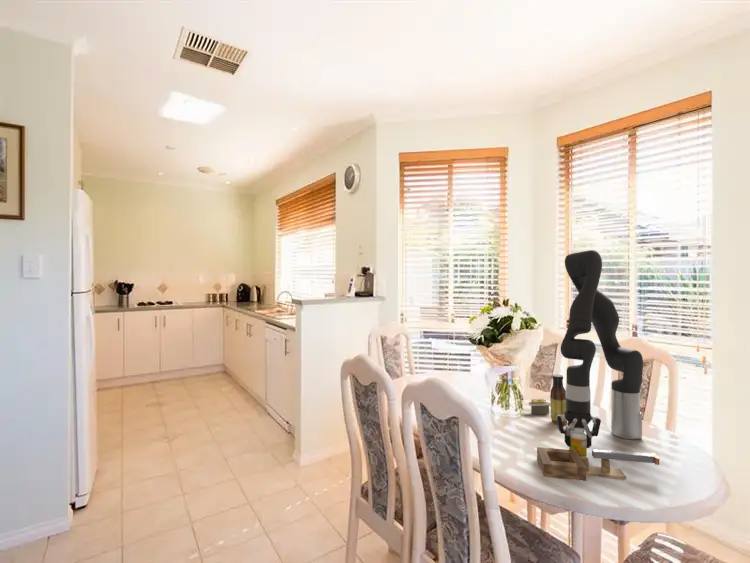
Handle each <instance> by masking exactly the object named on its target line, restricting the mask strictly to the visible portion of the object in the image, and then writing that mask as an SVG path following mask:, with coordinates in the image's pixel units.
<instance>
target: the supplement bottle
mask: <svg viewBox="0 0 750 563" xmlns="http://www.w3.org/2000/svg"><path fill="white" fill-rule="evenodd" d="M587 449H588V448H587V436H586V432H585V430H584V428H580V427H577V428H575V427H574V428H573V430H572V431H571V433H570V447H569V446H568V450H576V451H577V453H578V455H579V456H583V457H588V455H587V453H588V450H587Z"/></svg>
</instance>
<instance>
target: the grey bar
mask: <svg viewBox="0 0 750 563" xmlns="http://www.w3.org/2000/svg"><path fill="white" fill-rule="evenodd" d="M591 456H592V457H593V459H609V460H610V461H611V460H612V461H622V462H634V463H646V464H647V463H648V464H654V465H656V466H660V457H659V456H658V455H657V454H656V453H655V452H650V453H648V452H645V453H644V452H635V451H624V450H623V451H622V450H611V449H599V448H597V449H596V448H592V449H591Z"/></svg>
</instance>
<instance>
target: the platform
mask: <svg viewBox="0 0 750 563" xmlns="http://www.w3.org/2000/svg"><path fill="white" fill-rule="evenodd" d="M528 406H530V411H531V412H530V413H531V415H543V414H542V413H549V414H550V406H551V402H547V400H546V399H544V398H532V399H531V401H529V402H528Z"/></svg>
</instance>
